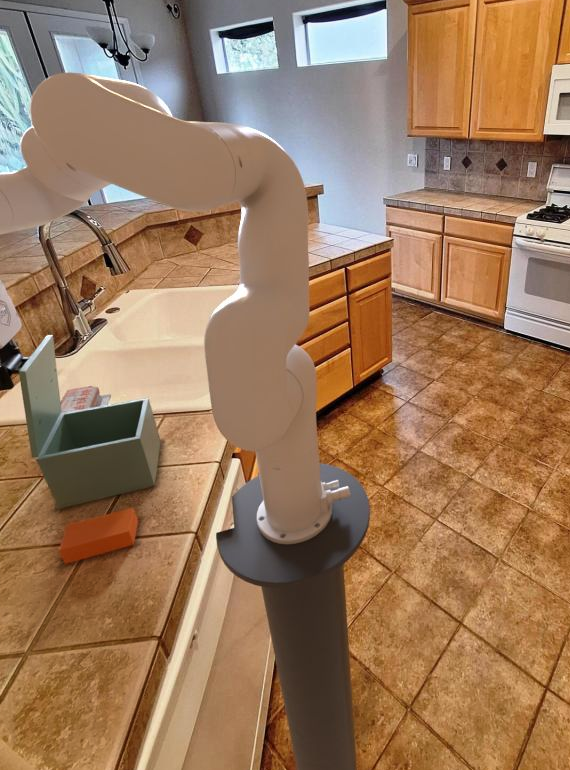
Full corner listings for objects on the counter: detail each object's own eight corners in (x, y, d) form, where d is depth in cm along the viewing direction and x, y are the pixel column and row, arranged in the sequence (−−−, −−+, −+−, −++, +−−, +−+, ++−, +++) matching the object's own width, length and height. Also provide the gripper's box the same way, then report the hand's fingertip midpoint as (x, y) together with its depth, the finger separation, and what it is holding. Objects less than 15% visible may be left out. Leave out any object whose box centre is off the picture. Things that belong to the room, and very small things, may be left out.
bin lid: (52, 334, 74) (17, 334, 72) (25, 371, 63) (-18, 371, 61) (61, 411, 79) (28, 412, 77) (38, 457, 68) (-2, 460, 66)
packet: (138, 520, 71) (133, 507, 70) (134, 544, 67) (129, 531, 65) (73, 537, 68) (67, 524, 66) (65, 564, 64) (58, 550, 62)
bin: (161, 441, 89) (148, 397, 85) (154, 485, 78) (139, 438, 73) (78, 458, 84) (59, 413, 79) (58, 509, 73) (35, 459, 68)
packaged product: (56, 388, 98) (106, 381, 101) (62, 406, 100) (112, 398, 103) (27, 435, 83) (88, 424, 86) (36, 454, 85) (95, 443, 88)
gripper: (-36, 284, 54) (18, 404, 62) (14, 253, 69) (53, 353, 77) (-115, 291, 52) (-48, 415, 60) (-46, 257, 66) (0, 360, 74)
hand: (8, 379), depth 68 cm, fingers closed on bin lid, 5 cm apart
